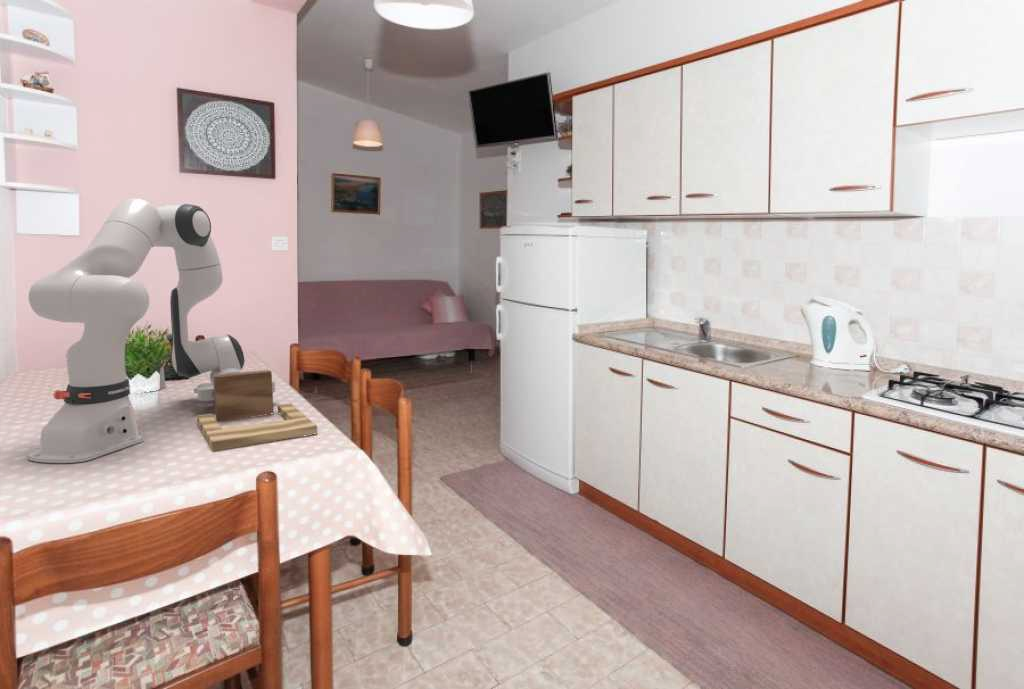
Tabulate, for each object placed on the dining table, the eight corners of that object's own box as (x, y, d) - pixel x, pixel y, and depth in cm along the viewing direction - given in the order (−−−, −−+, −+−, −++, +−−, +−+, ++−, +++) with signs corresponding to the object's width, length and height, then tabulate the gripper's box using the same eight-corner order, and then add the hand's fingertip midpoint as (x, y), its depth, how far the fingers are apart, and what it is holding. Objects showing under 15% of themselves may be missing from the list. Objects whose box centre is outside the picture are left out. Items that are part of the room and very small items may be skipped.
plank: (215, 418, 162) (212, 374, 160) (270, 411, 170) (268, 369, 168) (218, 422, 160) (214, 377, 158) (273, 414, 167) (271, 371, 165)
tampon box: (161, 375, 214) (157, 334, 212) (190, 373, 218) (187, 332, 215) (157, 381, 204) (154, 338, 202) (188, 379, 208) (185, 337, 206)
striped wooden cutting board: (197, 423, 158) (196, 415, 157) (290, 410, 171) (290, 403, 170) (212, 451, 137) (212, 441, 137) (317, 434, 150) (317, 425, 150)
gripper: (191, 378, 171) (198, 388, 160) (268, 370, 182) (279, 379, 171) (193, 400, 172) (200, 411, 161) (269, 391, 183) (280, 401, 172)
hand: (241, 394), depth 166 cm, fingers closed
